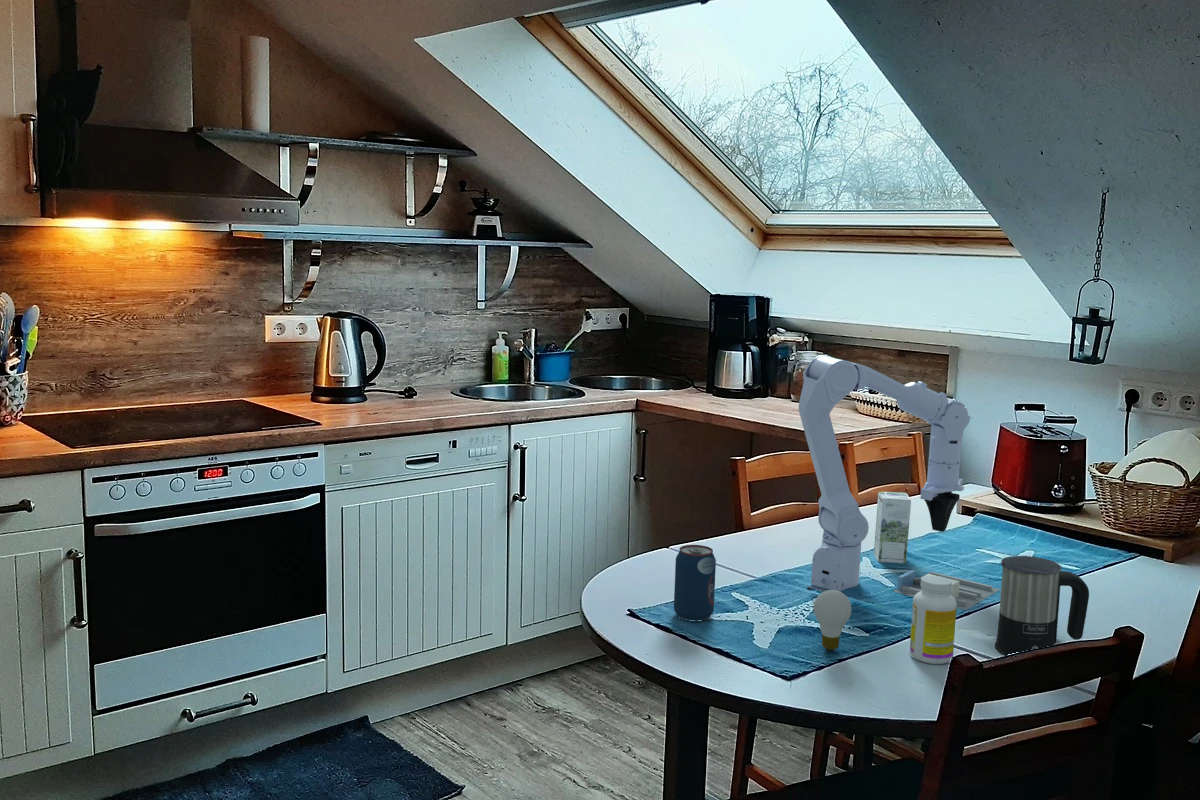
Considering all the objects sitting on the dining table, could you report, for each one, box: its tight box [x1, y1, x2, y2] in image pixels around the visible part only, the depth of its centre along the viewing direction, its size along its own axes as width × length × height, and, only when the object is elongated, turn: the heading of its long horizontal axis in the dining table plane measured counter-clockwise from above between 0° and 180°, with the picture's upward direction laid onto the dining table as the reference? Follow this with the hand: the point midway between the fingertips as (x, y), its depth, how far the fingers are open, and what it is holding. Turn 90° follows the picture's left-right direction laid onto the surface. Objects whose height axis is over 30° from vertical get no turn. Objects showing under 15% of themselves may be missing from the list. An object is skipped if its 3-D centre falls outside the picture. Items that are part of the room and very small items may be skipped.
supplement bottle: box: [909, 575, 958, 665], centre depth 171 cm, size 7×7×13 cm
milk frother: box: [994, 555, 1090, 656], centre depth 178 cm, size 14×16×15 cm
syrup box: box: [873, 491, 912, 564], centre depth 220 cm, size 6×6×14 cm
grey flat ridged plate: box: [892, 569, 1001, 611], centre depth 202 cm, size 16×14×4 cm
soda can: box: [673, 544, 717, 621], centre depth 187 cm, size 7×7×12 cm
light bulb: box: [813, 589, 852, 652], centre depth 173 cm, size 6×6×10 cm
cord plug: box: [913, 573, 960, 598], centre depth 200 cm, size 3×8×3 cm, turn 49°
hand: (938, 530), depth 208 cm, fingers closed
